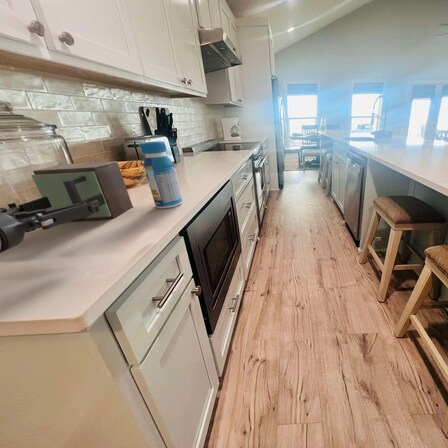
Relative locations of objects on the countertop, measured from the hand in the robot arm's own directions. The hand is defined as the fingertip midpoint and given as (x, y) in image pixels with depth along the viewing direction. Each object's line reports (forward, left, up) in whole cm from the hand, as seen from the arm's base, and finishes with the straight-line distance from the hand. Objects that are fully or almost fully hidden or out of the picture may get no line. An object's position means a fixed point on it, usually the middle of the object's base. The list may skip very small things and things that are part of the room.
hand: (75, 200), depth 62 cm
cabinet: (-5, +11, -8) cm, 15 cm away
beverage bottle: (+15, +16, -8) cm, 24 cm away
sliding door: (-5, +3, -7) cm, 9 cm away
